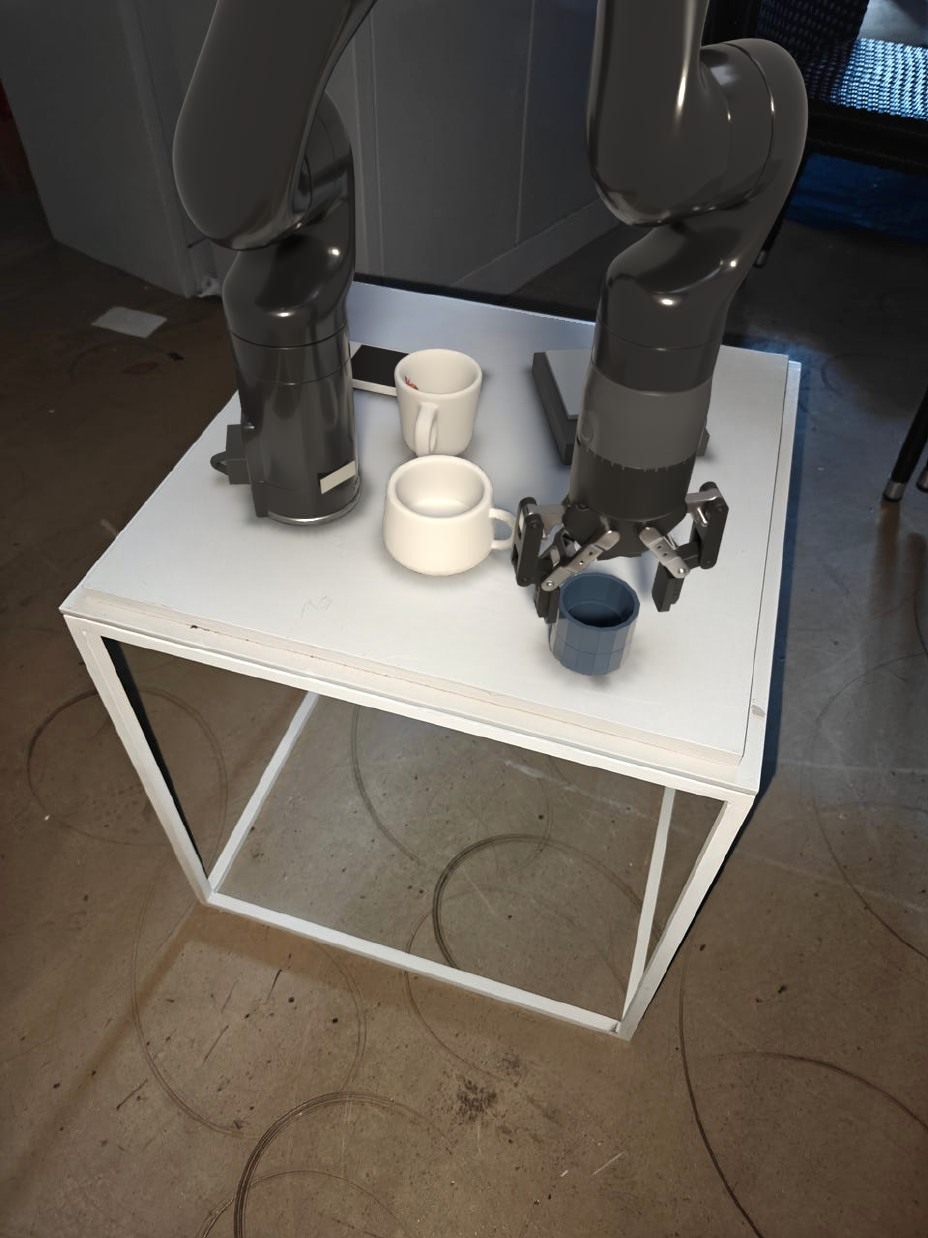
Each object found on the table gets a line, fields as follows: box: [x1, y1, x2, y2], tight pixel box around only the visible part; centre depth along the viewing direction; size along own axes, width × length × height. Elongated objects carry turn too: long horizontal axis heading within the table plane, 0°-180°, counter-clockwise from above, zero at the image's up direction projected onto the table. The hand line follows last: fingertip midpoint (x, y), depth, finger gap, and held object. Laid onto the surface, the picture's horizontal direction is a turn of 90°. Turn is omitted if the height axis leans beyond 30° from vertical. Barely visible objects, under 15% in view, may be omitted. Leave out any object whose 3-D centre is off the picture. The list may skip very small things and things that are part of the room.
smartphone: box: [350, 340, 412, 397], centre depth 93 cm, size 7×16×1 cm, turn 73°
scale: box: [531, 347, 711, 465], centre depth 90 cm, size 14×16×3 cm
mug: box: [382, 455, 517, 577], centre depth 75 cm, size 12×10×6 cm
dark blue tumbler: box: [549, 571, 641, 677], centre depth 67 cm, size 6×6×6 cm
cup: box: [394, 348, 483, 458], centre depth 82 cm, size 11×8×8 cm
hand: (603, 609), depth 66 cm, fingers open, 8 cm apart
